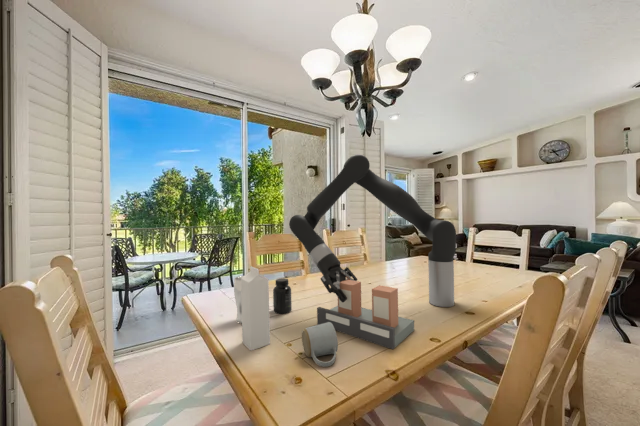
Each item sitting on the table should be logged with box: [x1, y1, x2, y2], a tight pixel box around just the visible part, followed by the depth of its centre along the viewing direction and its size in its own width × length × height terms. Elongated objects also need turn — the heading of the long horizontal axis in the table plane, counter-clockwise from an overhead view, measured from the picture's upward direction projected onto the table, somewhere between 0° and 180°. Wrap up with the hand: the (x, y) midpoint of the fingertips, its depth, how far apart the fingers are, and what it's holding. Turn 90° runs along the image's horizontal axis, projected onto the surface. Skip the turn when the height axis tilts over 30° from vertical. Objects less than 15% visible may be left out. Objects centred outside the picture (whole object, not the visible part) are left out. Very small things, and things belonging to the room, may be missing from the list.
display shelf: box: [316, 305, 415, 350], centre depth 88 cm, size 16×27×6 cm, turn 50°
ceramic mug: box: [301, 322, 339, 368], centre depth 71 cm, size 11×8×8 cm
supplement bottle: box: [272, 277, 293, 315], centre depth 104 cm, size 7×7×12 cm
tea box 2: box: [371, 284, 399, 328], centre depth 82 cm, size 5×6×11 cm
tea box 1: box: [337, 278, 362, 317], centre depth 91 cm, size 5×6×11 cm
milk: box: [241, 265, 271, 352], centre depth 79 cm, size 6×6×22 cm
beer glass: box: [233, 275, 244, 324], centre depth 96 cm, size 7×7×15 cm
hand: (352, 297), depth 90 cm, fingers open, 8 cm apart
